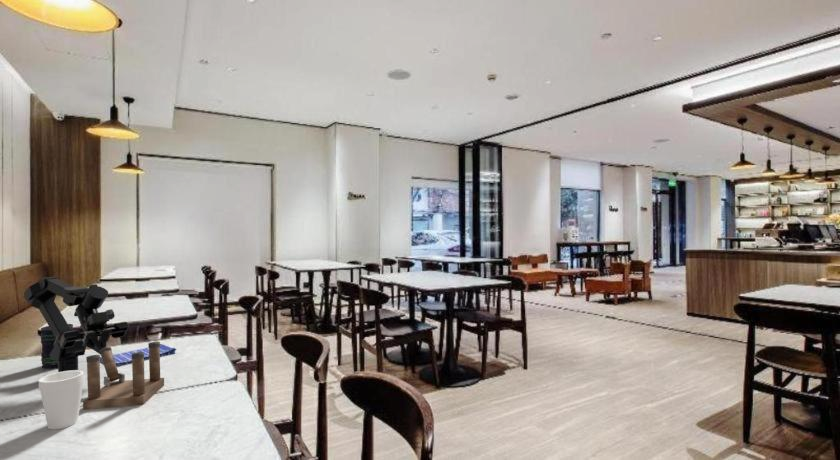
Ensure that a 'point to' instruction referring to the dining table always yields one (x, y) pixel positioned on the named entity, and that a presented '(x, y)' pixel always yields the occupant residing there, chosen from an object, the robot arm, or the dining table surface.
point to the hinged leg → (109, 363)
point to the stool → (124, 382)
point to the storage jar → (48, 347)
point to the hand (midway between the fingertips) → (103, 354)
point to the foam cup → (61, 397)
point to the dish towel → (127, 356)
